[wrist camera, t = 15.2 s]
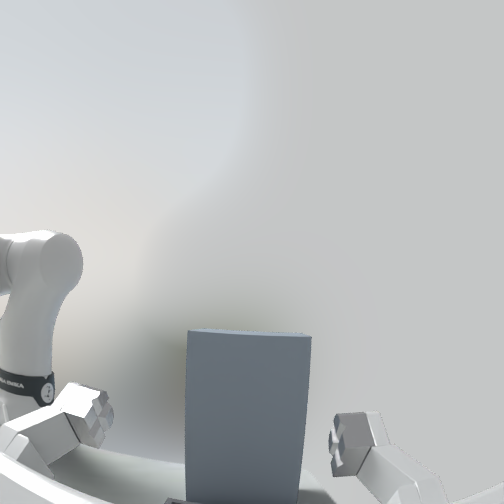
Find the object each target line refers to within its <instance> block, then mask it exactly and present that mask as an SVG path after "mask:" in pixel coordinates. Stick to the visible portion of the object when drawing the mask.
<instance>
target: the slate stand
mask: <svg viewBox="0 0 504 504" xmlns="http://www.w3.org/2000/svg"><path fill="white" fill-rule="evenodd" d="M311 338H312V337H311V336H308V335H305V334H302V333H279V332H278V333H277V332H254V331H234V330H219V329H205V328H204V329H196V330H189V331H188V337H187V359H186V389H185V478H186V501H189V502H195V503H202V504H296V503H297V496H298V489H299V481H300V473H301V464H302V455H303V445H304V436H305V425H306V414H307V402H308V388H309V374H310V357H311Z"/></svg>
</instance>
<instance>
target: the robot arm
mask: <svg viewBox="0 0 504 504" xmlns="http://www.w3.org/2000/svg"><path fill="white" fill-rule="evenodd" d="M82 270H83V257H82V253H81V250H80V248H79V246H78V244H77V242H76V241H75V240H74V239H73V238H72V237H70V236H69V235H66V234H63V233H59V232H56V231H51V230H42V231H36V232H30V233H22V234H13V235H0V296H2V295H6V294H10V297H9V300H8V304H7V307H6V310H5V312H4V314H3V316H2V317H1V319H0V504H113V503H110V502H107V501H104V500H101V499H98V498H96V497H93V496H90V495H88V494H85V493H82V492H80V491H77V490H75V489H73V488H70V487H68V486H66V485H63V484H61V483H59V482H57V481H55V480H53V479H54V474H53V473H52V471H51V470H50V469H49V467H48V465H49V464H51V463H52V462H54V461H55V460H57V459H59V458H60V457H62V456H63V455H65V454H66V453H68V452H69V451H71V450H72V449H74V448H75V447H77V446H79V445H80V443H81V444H84V445H87V446H91V447H94V448H97V449H99V448H100V446H101V444H102V442H103V440H104V439H105V434H104V432H105V431H106V430H108V429H110V427H111V425H112V423H113V418H114V414H113V409H112V407H111V405H110V404H109V403H108V402H107V400H108V399H109V397H108V395H107V392H106V391H103V390H99V389H96V388H93V387H89V386H86V385H83V384H79V383H75V382H70V383H68V385H67V386H66V387H65V388H64V390H63V391H62V392H61V393H60V395H59V396H58V397H57V399H56V400H55V401H54V394H55V393H54V392H55V385H54V384H55V382H54V373H53V371H52V338H53V331H54V325H55V321H56V318H57V315H58V312H59V310H60V307H61V305H62V303H63V301H64V299H65V297H66V296H67V294H68V293H69V292H70V291H71V290H72V289H73V288H74V287H75V286H76V285H77V284H78V282H79V280H80V278H81V275H82ZM329 453H330V454H331V455H332V456H333V458H332V461H331V467H332V473H333V477H343V476H356V477H357V478H358V479H359V480H360V481H361V482H362V483H363V485H364V486H365V487H366V488H367V489H368V490H369V491H370V492H371V493H372V494H373V495H374V496H375V497H376V498H377V500H378V501H379V502H380V503H381V504H449V502H448V499H447V496H446V494H445V491H444V488H443V485H442V483H441V480H440V477H439V476H438V475H436V474H435V473H433V472H432V471H431V470H429V469H428V468H426V467H425V466H424V465H422V464H421V463H420V462H418V461H417V460H415V459H414V458H412V457H411V456H410V455H409V454H407V453H406V452H404V451H403V450H402V449H400V448H399V447H398V446H397V445H395V444H390V441H389V438H388V435H387V432H386V429H385V426H384V423H383V420H382V417H381V415H380V413H379V412H378V411H372V412H358V413H342V414H336V416H335V418H334V427H333V428H332V429H331V431H330V434H329ZM450 504H504V482H502V483H500V484H497V485H495V486H493V487H491V488H488V489H486V490H484V491H482V492H479V493H477V494H474V495H472V496H469V497H466V498H464V499H461V500H458V501H456V502H452V503H450Z"/></svg>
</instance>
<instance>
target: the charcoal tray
mask: <svg viewBox="0 0 504 504" xmlns="http://www.w3.org/2000/svg"><path fill="white" fill-rule="evenodd" d="M165 504H202V503H195V502H189V501H183V500H177V499H172V498H168V499H167V500H166V502H165Z"/></svg>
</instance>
